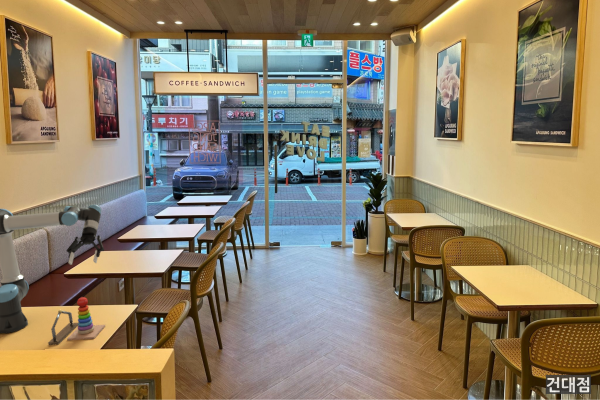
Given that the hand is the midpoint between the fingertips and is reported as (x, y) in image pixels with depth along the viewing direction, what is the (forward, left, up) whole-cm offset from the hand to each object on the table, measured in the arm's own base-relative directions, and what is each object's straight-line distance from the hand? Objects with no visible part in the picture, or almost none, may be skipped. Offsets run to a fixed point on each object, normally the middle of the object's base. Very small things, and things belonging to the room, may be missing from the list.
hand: (82, 262), depth 256 cm
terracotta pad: (+12, -13, -34) cm, 38 cm away
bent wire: (+2, -18, -34) cm, 38 cm away
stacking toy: (+12, -13, -33) cm, 37 cm away
